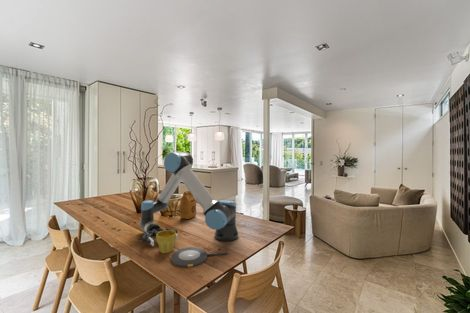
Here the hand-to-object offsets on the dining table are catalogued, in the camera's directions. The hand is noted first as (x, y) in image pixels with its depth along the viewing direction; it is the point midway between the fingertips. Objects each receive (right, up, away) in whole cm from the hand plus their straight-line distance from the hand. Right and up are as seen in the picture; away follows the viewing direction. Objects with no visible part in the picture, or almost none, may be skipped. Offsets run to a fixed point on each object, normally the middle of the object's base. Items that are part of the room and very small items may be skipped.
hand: (165, 240), depth 125 cm
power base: (+20, -6, -6) cm, 22 cm away
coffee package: (0, -4, +60) cm, 60 cm away
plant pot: (0, -6, +1) cm, 6 cm away
